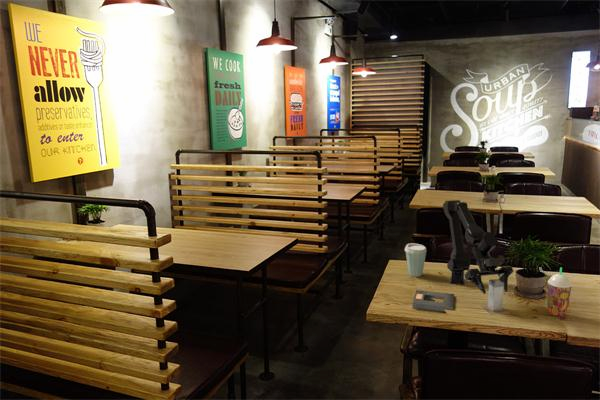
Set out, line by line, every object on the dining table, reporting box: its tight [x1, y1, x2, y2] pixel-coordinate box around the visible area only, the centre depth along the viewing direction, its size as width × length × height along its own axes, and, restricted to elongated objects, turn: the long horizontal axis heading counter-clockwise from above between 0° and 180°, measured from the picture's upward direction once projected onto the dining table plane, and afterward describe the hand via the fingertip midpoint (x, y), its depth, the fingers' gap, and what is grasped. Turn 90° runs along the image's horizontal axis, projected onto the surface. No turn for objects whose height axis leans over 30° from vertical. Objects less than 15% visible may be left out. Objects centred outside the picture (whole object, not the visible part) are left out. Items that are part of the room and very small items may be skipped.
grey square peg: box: [487, 278, 505, 312], centre depth 190 cm, size 4×4×12 cm
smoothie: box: [546, 267, 573, 319], centre depth 185 cm, size 8×8×20 cm
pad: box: [480, 304, 510, 315], centre depth 191 cm, size 8×8×2 cm
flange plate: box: [412, 289, 455, 313], centre depth 201 cm, size 14×16×3 cm
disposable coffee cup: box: [404, 242, 427, 278], centre depth 232 cm, size 11×11×15 cm
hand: (495, 292), depth 189 cm, fingers open, 9 cm apart
